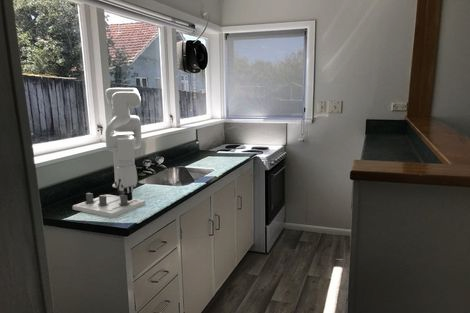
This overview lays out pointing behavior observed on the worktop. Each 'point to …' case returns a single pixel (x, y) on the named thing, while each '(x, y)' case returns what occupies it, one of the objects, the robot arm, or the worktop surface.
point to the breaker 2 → (102, 200)
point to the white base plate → (108, 206)
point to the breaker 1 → (89, 198)
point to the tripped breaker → (124, 200)
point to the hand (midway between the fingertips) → (128, 200)
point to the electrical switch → (119, 190)
